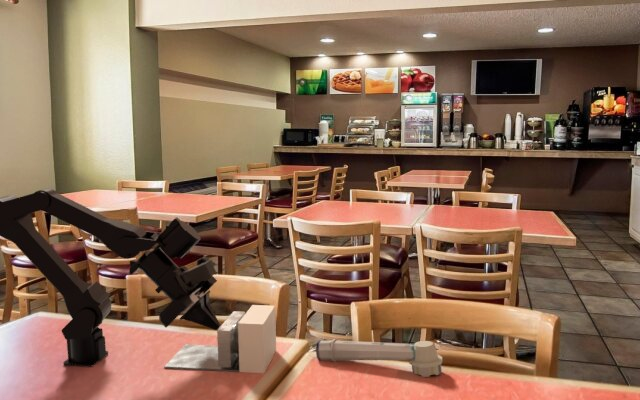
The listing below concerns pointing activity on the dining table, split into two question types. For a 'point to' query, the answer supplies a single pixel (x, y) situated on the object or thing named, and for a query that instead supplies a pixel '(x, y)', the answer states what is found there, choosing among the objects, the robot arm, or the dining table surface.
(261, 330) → the socket
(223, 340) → the grey piece
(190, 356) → the plate
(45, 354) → the dining table surface
